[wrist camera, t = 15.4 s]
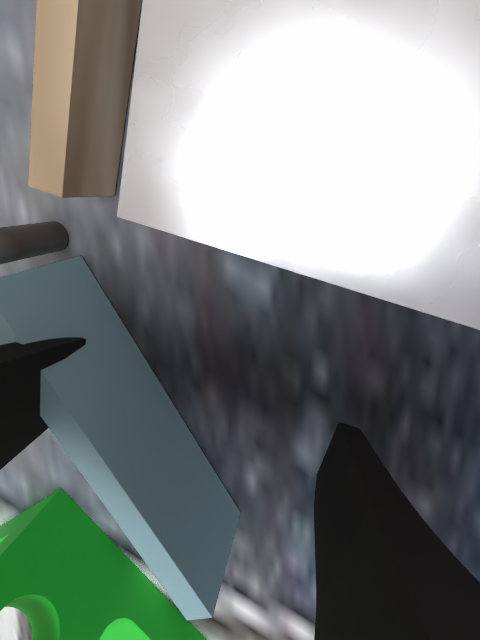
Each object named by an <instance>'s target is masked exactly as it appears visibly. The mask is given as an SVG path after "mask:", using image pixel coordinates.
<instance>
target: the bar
mask: <svg viewBox="0 0 480 640" xmlns="http://www.w3.org/2000/svg"><path fill="white" fill-rule="evenodd" d="M64 337H81V338H84V339H86V345H84V346H83V347H81V348H80V349H79V350H77V351H76V352H74V353H73V354H71V355H70V356H68V357H67V358H66V359H64V360H62V361H60V362H57V363H55V364H53V365H51V366H49V367H47V368H45V369H43V370H41V385H40V416H41V417H42V419H43V420H44V422H45V423H46V424H47V426H48V427H49V428H50V430H51V431H52V433H53V434H54V435H55V437H56V438H57V440H58V441H59V442H60V444H61V445H62V447H63V448H64V449H65V451H66V452H67V454H68V455H69V456H70V458H71V459H72V461H73V462H74V463H75V465H76V466H77V468H78V469H79V470H80V472H81V473H82V475H83V476H84V477H85V479H86V480H87V482H88V483H89V484H90V486H91V487H92V489H93V490H94V491H95V493H96V494H97V496H98V497H99V498H100V500H101V501H102V503H103V504H104V505H105V507H106V508H107V509H108V511H109V512H110V514H111V515H112V516H113V518H114V519H115V521H116V522H117V523H118V525H119V526H120V528H121V529H122V530H123V532H124V533H125V535H126V536H127V537H128V539H129V540H130V542H131V543H132V544H133V546H134V547H135V549H136V550H137V551H138V553H139V554H140V556H141V557H142V558H143V560H144V561H145V563H146V564H147V565H148V567H149V568H150V570H151V571H152V572H153V574H154V575H155V577H156V578H157V579H158V581H159V582H160V584H161V585H162V586H163V588H164V589H165V591H166V592H167V593H168V595H169V596H170V597H171V599H172V600H173V602H174V603H175V604H176V606H177V607H178V609H179V610H180V611H181V613H182V614H183V616H184V617H185V618H186V620H195V619H204V618H212V617H213V613H214V610H215V606H216V602H217V598H218V595H219V591H220V587H221V584H222V580H223V576H224V573H225V569H226V565H227V561H228V558H229V554H230V550H231V547H232V543H233V539H234V535H235V532H236V528H237V524H238V521H239V517H240V511H239V510H238V508H237V506H236V505H235V503H234V502H233V500H232V498H231V497H230V495H229V493H228V492H227V490H226V489H225V487H224V485H223V484H222V482H221V481H220V479H219V477H218V476H217V474H216V472H215V471H214V469H213V468H212V466H211V464H210V463H209V461H208V460H207V458H206V456H205V455H204V453H203V451H202V450H201V448H200V447H199V445H198V443H197V442H196V440H195V439H194V437H193V435H192V434H191V432H190V430H189V429H188V427H187V426H186V424H185V422H184V421H183V419H182V418H181V416H180V414H179V413H178V411H177V409H176V408H175V406H174V405H173V403H172V401H171V400H170V398H169V397H168V395H167V393H166V392H165V390H164V389H163V387H162V385H161V384H160V382H159V380H158V379H157V377H156V376H155V374H154V372H153V371H152V369H151V368H150V366H149V364H148V363H147V361H146V359H145V358H144V356H143V355H142V353H141V351H140V350H139V348H138V347H137V345H136V343H135V342H134V340H133V338H132V337H131V335H130V334H129V332H128V330H127V329H126V327H125V326H124V324H123V322H122V321H121V319H120V317H119V316H118V314H117V313H116V311H115V309H114V308H113V306H112V305H111V303H110V301H109V300H108V298H107V296H106V295H105V293H104V292H103V290H102V288H101V287H100V285H99V284H98V282H97V280H96V279H95V277H94V275H93V274H92V272H91V271H90V269H89V267H88V266H87V264H86V263H85V261H84V259H83V258H82V256H78V257H74V258H70V259H67V260H63V261H59V262H55V263H52V264H48V265H44V266H40V267H37V268H33V269H29V270H26V271H22V272H18V273H14V274H11V275H7V276H3V277H0V345H3V344H8V343H14V342H17V343H20V344H27V343H31V342H36V341H41V340H47V339H54V338H64Z"/></svg>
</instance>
